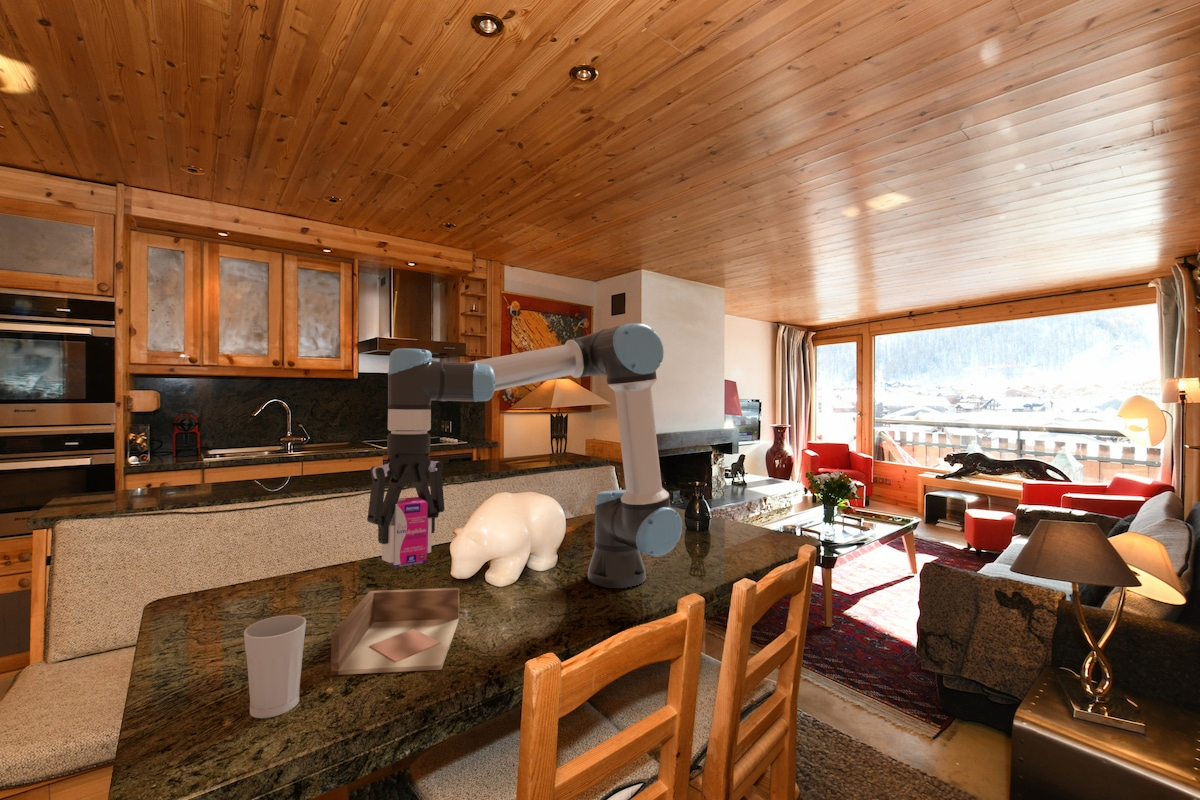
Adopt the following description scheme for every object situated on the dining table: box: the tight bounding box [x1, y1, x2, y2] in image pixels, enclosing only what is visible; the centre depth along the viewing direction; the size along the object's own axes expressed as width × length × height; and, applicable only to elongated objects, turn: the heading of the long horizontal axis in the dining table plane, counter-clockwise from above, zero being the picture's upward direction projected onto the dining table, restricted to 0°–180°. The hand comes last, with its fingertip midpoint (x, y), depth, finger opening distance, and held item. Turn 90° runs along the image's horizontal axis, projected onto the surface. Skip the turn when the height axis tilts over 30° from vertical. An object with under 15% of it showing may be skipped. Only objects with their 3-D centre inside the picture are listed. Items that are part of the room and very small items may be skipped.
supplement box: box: [390, 496, 428, 569], centre depth 95 cm, size 6×6×12 cm
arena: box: [330, 587, 460, 676], centre depth 97 cm, size 18×20×7 cm
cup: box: [243, 614, 307, 719], centre depth 78 cm, size 8×8×12 cm
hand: (407, 555), depth 95 cm, fingers closed on supplement box, 7 cm apart
